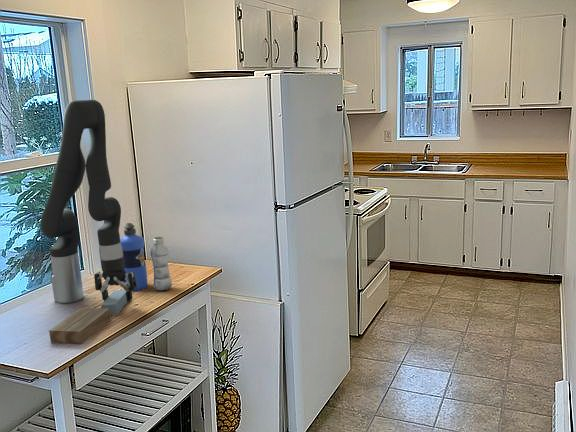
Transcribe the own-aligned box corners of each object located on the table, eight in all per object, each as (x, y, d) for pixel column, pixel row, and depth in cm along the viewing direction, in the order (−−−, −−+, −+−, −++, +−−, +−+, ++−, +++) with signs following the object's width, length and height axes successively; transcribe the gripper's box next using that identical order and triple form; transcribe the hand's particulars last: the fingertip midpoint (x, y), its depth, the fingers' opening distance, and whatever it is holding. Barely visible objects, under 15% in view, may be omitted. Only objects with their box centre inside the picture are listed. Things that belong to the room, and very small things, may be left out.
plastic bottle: (168, 292, 203) (163, 240, 199) (151, 292, 205) (145, 240, 200) (175, 286, 210) (170, 235, 205) (158, 286, 211) (153, 235, 207)
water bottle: (151, 282, 215) (145, 220, 210) (143, 291, 206) (136, 226, 201) (128, 282, 216) (121, 221, 211) (119, 291, 207) (112, 226, 202)
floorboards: (50, 342, 165) (48, 330, 164) (83, 318, 182) (81, 307, 181) (81, 344, 163) (79, 331, 162) (110, 319, 180) (109, 308, 180)
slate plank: (102, 316, 185) (101, 304, 184) (115, 300, 199) (113, 290, 198) (117, 315, 185) (115, 304, 184) (128, 300, 199) (127, 289, 198)
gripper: (86, 259, 185) (93, 305, 188) (125, 259, 182) (132, 305, 186) (98, 253, 192) (104, 297, 196) (136, 252, 189) (141, 297, 193)
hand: (118, 301), depth 191 cm, fingers open, 8 cm apart
